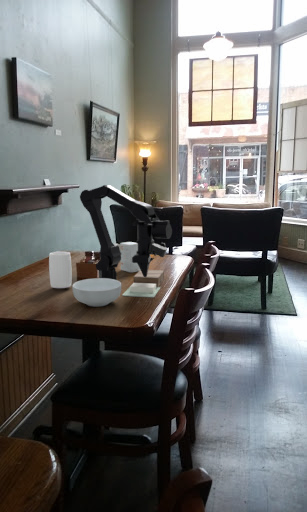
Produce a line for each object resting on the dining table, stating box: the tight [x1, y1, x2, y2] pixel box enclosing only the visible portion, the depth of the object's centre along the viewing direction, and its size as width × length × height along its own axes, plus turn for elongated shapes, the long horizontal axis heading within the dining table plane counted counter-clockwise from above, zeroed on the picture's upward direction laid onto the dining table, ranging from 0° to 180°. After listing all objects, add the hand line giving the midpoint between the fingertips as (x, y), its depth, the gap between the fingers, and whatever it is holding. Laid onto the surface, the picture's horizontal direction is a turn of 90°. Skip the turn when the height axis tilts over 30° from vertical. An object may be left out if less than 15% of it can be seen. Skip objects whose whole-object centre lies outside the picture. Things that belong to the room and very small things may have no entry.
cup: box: [48, 250, 73, 289], centre depth 166 cm, size 8×8×14 cm
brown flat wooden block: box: [133, 269, 165, 287], centre depth 175 cm, size 14×10×4 cm
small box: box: [119, 241, 140, 273], centre depth 198 cm, size 8×6×13 cm
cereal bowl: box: [71, 277, 122, 308], centre depth 147 cm, size 17×17×7 cm
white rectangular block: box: [129, 282, 156, 293], centre depth 163 cm, size 6×9×2 cm, turn 80°
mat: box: [121, 286, 162, 298], centre depth 162 cm, size 14×12×1 cm
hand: (145, 276), depth 167 cm, fingers closed
